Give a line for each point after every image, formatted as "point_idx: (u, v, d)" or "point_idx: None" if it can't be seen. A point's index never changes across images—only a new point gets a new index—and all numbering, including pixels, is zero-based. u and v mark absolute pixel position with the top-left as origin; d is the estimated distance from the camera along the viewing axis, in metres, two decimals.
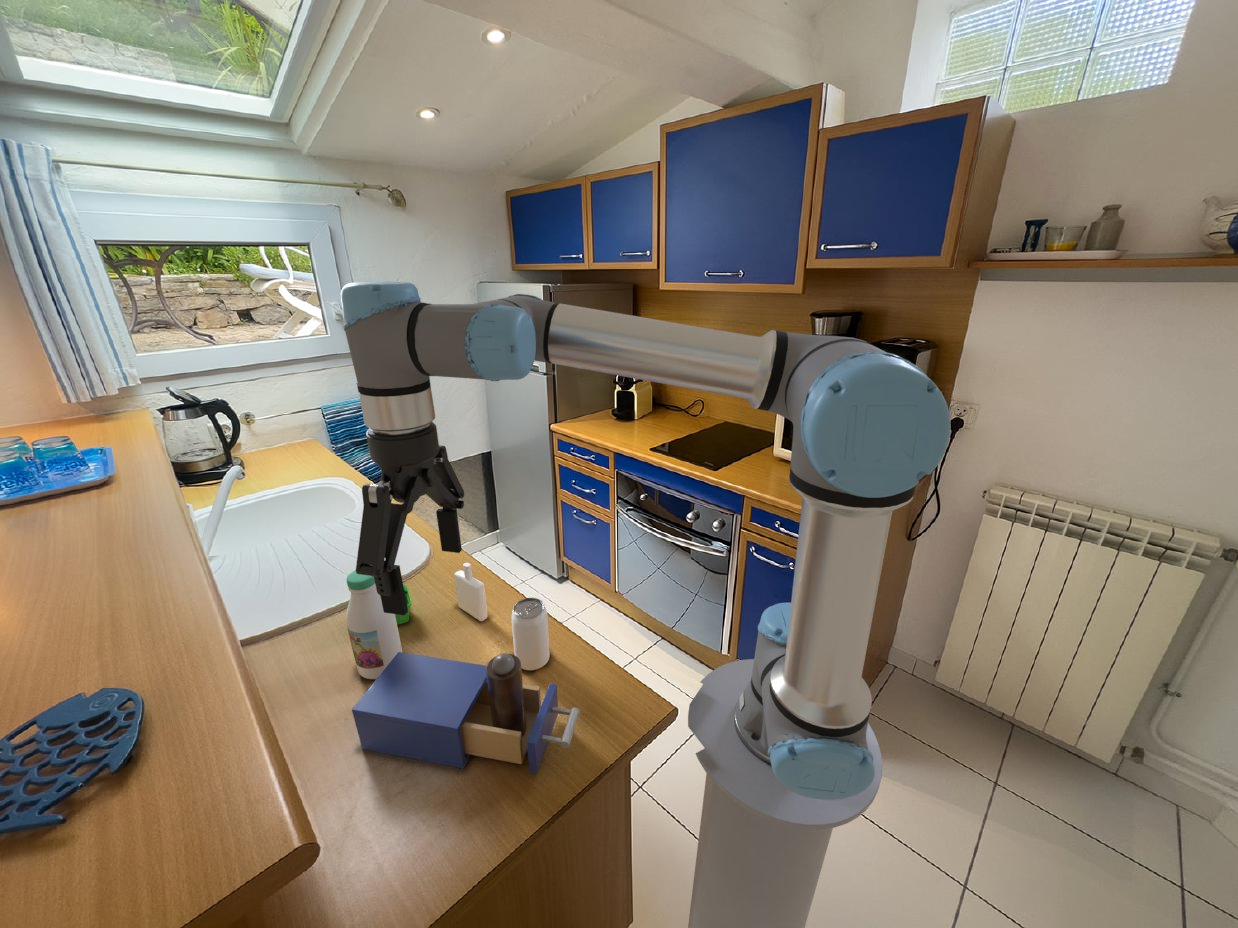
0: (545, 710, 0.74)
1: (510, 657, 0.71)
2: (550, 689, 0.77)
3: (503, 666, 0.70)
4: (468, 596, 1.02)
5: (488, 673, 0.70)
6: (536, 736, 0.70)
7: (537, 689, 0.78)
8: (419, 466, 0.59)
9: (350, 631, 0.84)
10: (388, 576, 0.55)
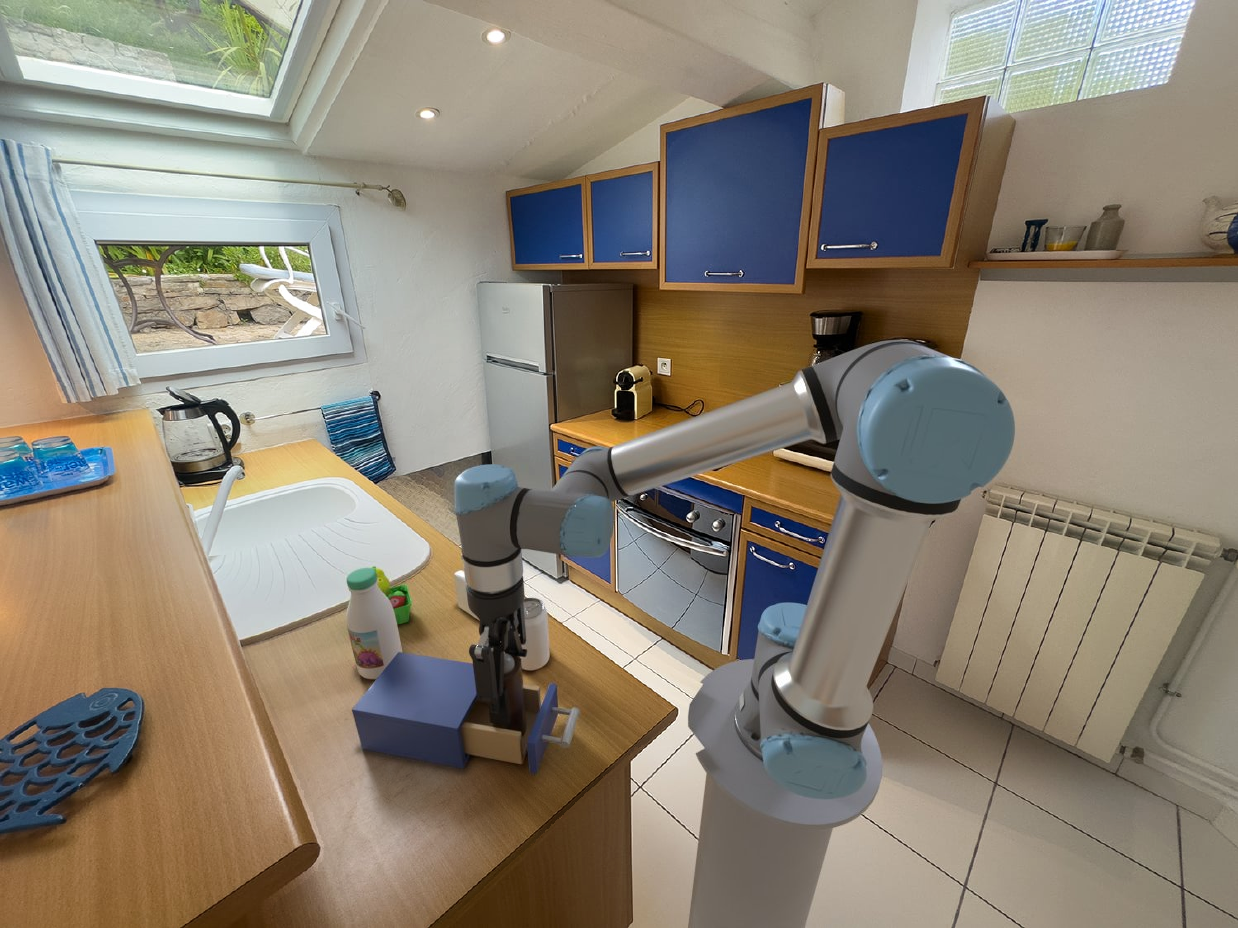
0: (545, 710, 0.74)
1: (510, 657, 0.71)
2: (550, 689, 0.77)
3: None
4: None
5: None
6: (536, 736, 0.70)
7: (537, 689, 0.78)
8: None
9: (350, 631, 0.84)
10: (498, 698, 0.69)
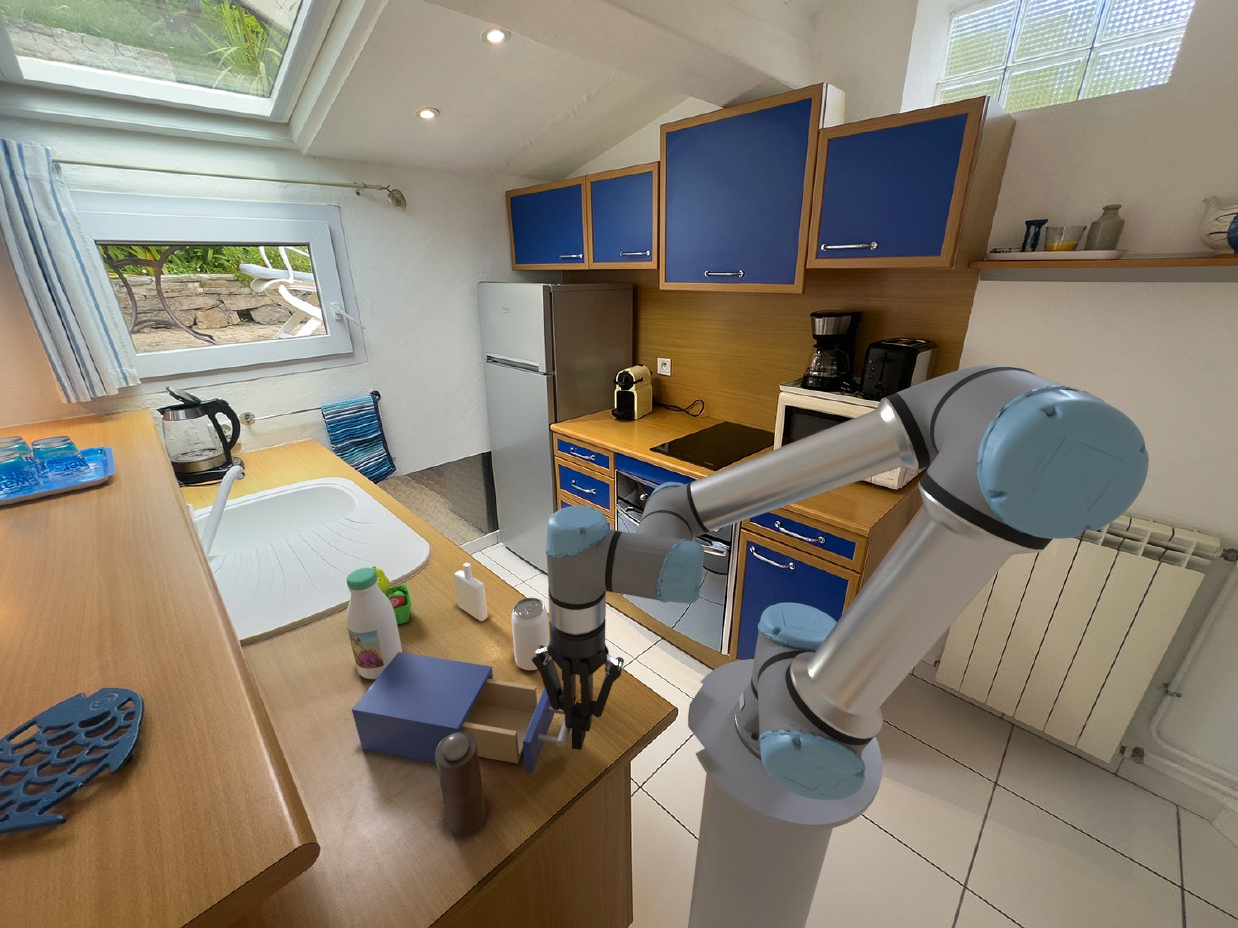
0: (541, 709, 0.74)
1: (463, 739, 0.62)
2: None
3: (454, 751, 0.60)
4: (468, 596, 1.02)
5: (437, 759, 0.60)
6: (531, 735, 0.70)
7: (533, 688, 0.78)
8: None
9: (350, 631, 0.84)
10: (568, 715, 0.72)
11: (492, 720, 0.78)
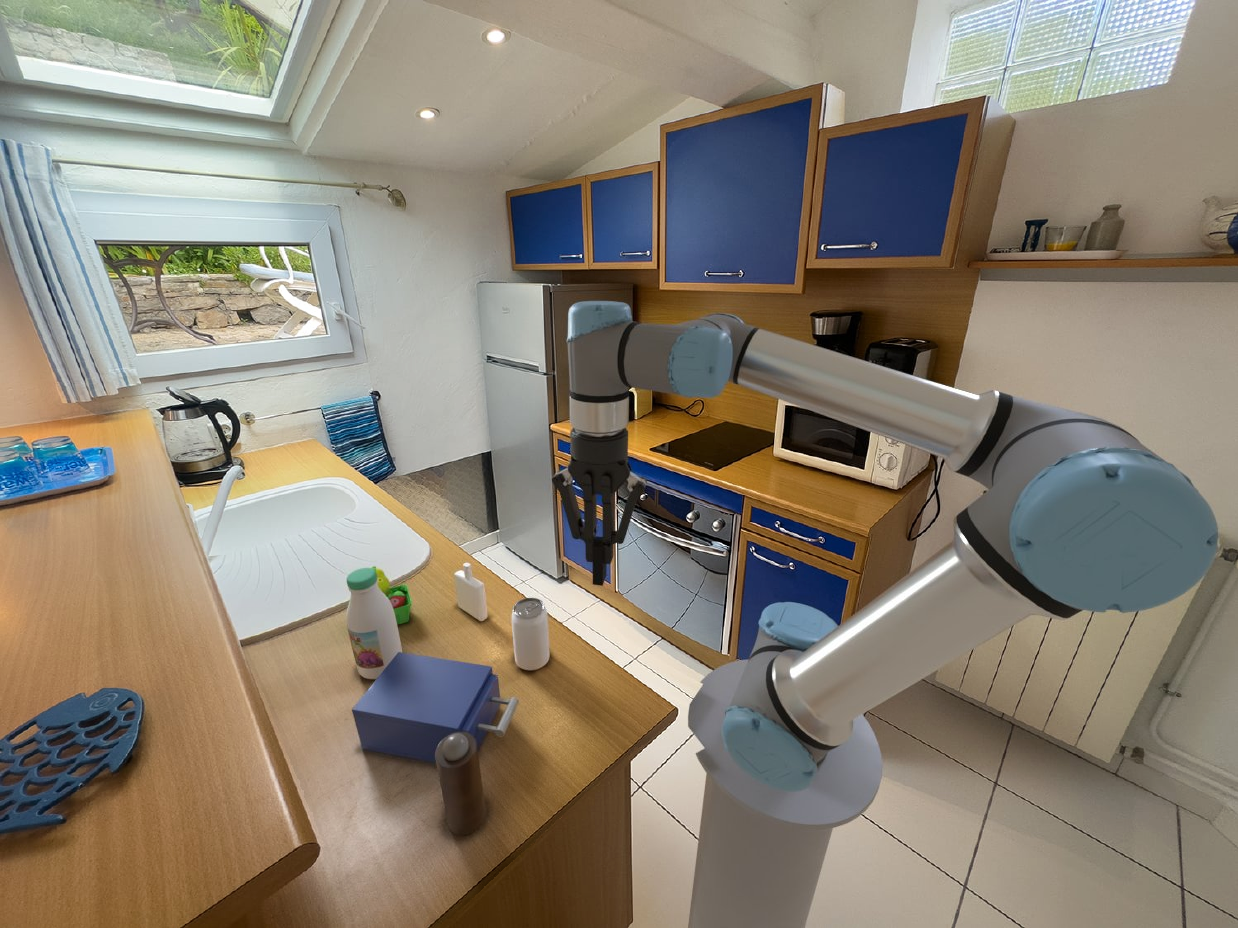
0: (483, 699, 0.75)
1: (463, 739, 0.62)
2: (490, 679, 0.79)
3: (454, 751, 0.60)
4: (468, 596, 1.02)
5: (437, 759, 0.60)
6: (470, 724, 0.71)
7: None
8: None
9: (350, 631, 0.84)
10: (589, 547, 0.70)
11: None
